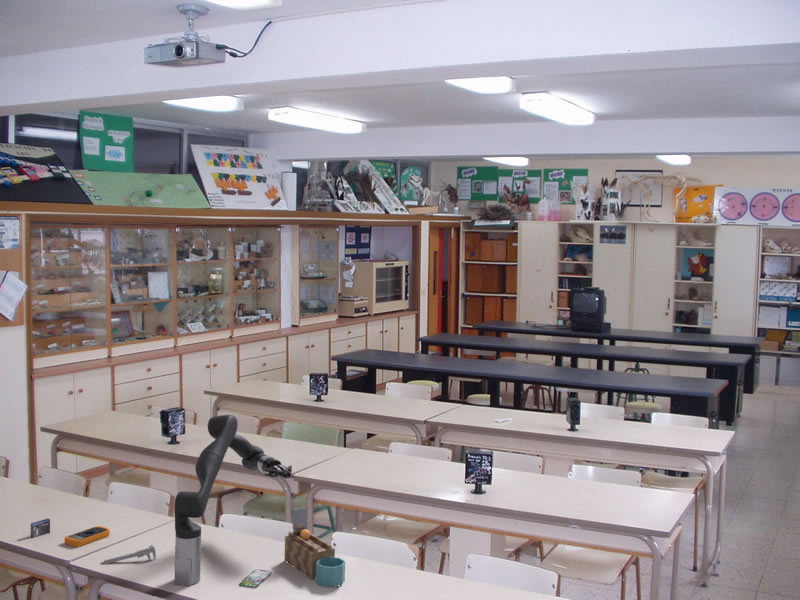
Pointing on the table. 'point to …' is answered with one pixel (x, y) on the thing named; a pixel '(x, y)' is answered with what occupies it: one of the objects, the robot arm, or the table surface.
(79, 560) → the table surface
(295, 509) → the gray rectangular block
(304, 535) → the ball
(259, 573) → the smartphone
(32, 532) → the mini dv tape
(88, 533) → the multimeter
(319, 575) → the cup
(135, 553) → the caliper
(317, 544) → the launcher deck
